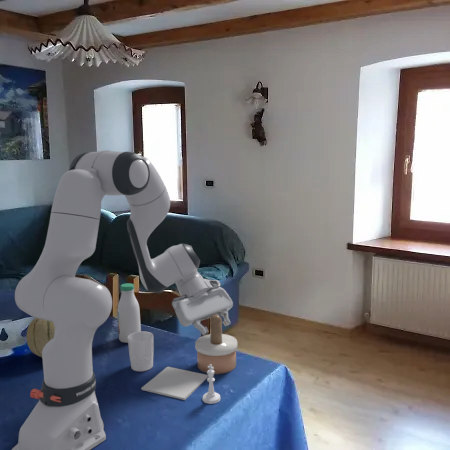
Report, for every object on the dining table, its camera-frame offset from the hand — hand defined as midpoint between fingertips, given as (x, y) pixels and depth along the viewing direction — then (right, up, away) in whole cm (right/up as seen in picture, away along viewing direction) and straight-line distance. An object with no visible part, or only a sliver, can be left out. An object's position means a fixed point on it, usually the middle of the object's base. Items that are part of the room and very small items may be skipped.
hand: (217, 329), depth 148 cm
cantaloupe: (-55, -11, +11) cm, 57 cm away
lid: (0, -6, +1) cm, 6 cm away
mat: (-12, -14, -8) cm, 20 cm away
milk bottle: (-31, -9, +23) cm, 40 cm away
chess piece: (-1, -15, -17) cm, 23 cm away
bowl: (0, -12, +3) cm, 12 cm away
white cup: (-23, -12, +2) cm, 27 cm away
